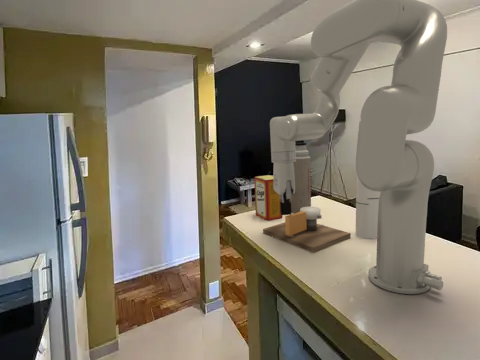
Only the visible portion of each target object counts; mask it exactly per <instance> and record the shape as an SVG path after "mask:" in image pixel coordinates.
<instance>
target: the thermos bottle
mask: <svg viewBox="0 0 480 360" xmlns="http://www.w3.org/2000/svg"><path fill="white" fill-rule="evenodd" d="M295 148H296V150H295V151H296V161H295V162H293V165H294V175H295V193H294V194H292V193H291V214H294V213H297V212H300V209H301V208H302V207H312V179H311V177H312V173H311V172H312V170H311V169H312V167H311V166H312V163H311V161H312V160H311V156H310V152H309V150H308V148H307V142H295Z"/></svg>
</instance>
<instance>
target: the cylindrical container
mask: <svg viewBox="0 0 480 360" xmlns="http://www.w3.org/2000/svg"><path fill="white" fill-rule="evenodd" d="M355 183H356V187H355V188H356V191H355V193H356V195H355V196H356V197H355V236H356V237H358V238H361V239H367V240H375V239H376V240H377V227H378V203H379V197H380V193H381V192H377V191H372V190H369V189H367V188H366V187H365V186H364V185H363V184H362V183H361V182H360V180H359V178H358V176H357V175H356V182H355Z"/></svg>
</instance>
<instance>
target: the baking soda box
mask: <svg viewBox="0 0 480 360" xmlns="http://www.w3.org/2000/svg"><path fill="white" fill-rule="evenodd" d="M253 180H254V199H255V200H254V201H255V216H257V217H259V218H261V219H263V221H264V220H265V221H266V222H269V221H274V220H275V221H277V220H281V219H283V215H282V214H281V213H280V195H279V194H278V193H277V192H276V191H275V190H274V188H273V175H270V174H267V175H258V176H254V178H253Z"/></svg>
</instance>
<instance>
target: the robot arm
mask: <svg viewBox="0 0 480 360" xmlns="http://www.w3.org/2000/svg"><path fill="white" fill-rule="evenodd" d="M447 39H448V24H447V20H446V18H445V17H444V15H443V13H442V12H441V11H440V10H439V9H438V8H436V7H435V6H433V5H432V4H429V3H425V2H423V1H420V0H352V1H350V2H347V3H346V4H344V5H342V6H340V7H339V8H338V9H336V10H333V11H332V12H331V13H329V14H327V15H325V17H323V18H322V19H321V20H320V21H319V22H318V24H317V25H316V26H315V28H314V29H313V31H312V34H311V39H310V46H311V51H312V52H313V54H314V55H316V56H317V57H320V58H319V60H318V62H317V63H316V66H315V67H314V69H313V71H312V73H311V75H310V79H309V80H310V84H311V86H313V87H314V90H315V89H316V90H317V91H318V92H319V93H321V97H320V100H319V102H318V105H317V106H316V108H315V109H314V111H313V113H295V114H287V115H285V116H284V115H283V116H275V117H274V116H273V117H272V118H271V119H270V120H269V129H270V130H269V133H270V153H271V154H270V156H271V163H273V175H272V176H273V188H274V190H275V191H276V192H277V193H278V194H279V195H280V213H281V214H282V216H288V215H291V214H292V212H291V193H292V194H294V193H295V175H294V165H293V162H295V161H296V151H295V150H296V148H295V143H296V142H299V141H300V142H301V141H307V140H308V141H309V140H316V139H320V138H322V137H323V136H324V135H325V134H326V133H328V132H327V131H329V129H330V128H331V126H332V125H333V123H334V122H335V120H336V118H337V117H338V114H339V110H340V104H341V96H340V93H341V90H342V89H343V88H344V86H345V84H346V83H347V81H349V78H350V76H352V74H353V71H354V70H355V68H356V67H357V66H358V64H359V63H360V61H361V59H362V57H363V56H364V54H365V53H366V51H367V50H368V48H369V45H370V43H371V41H373V42H378V43H379V42H380V43H386V44H387V43H388V44H394V45H399V46H400V47H401V48H400V50H399V51H398V53H397V55H396V58H395V60H394V63H393V68H392V77H391V85H386V86H382V87H379V88H376V90H374V91H372V92H371V93H370V94H369V96H367V98H366V100H365V101H364V103H363V105H362V108H361V110H360V115H359V123H358V131H357V132H358V134H357V140H356V141H357V144H356V154H355V172H356V177H357V176H358V178H359V180H360V182H361V183H362V184H363V185H364V186H365V187H366V188H367V189H369V190H372V191H377V192H381V193H380V197H379V203H378V227H377V238H376V260H375V261H376V262H375V263H376V264H375V265H374V266H372V267H370V268H369V270H368V278H369V280H370V282H372V283H373V284H374V285H376V286H377V287H379V288H381V289H384V290H386V291H389V292H393V293H397V294H406V295H417V294H422V293H425V292H428V290H430V288H432V289H435V290H437V291H442V289H443V288H444V281H443V280H442V279H443V277H442V276H440V275H438V274H433V273H431V271H429V267H430V265H429V264H426V263H425V247H426V234H427V233H426V232H427V231H426V230H427V217H428V202H429V197H430V196H429V195H430V189H431V185H432V181H433V176H434V172H435V171H434V170H435V160H434V156H433V153H432V152H431V150H430V149H429V148H428V147H427V146H426V145H425V144H424V143H422V142H420V141H416V140H412V139H411V140H410V139H409V140H408V139H407V135H413V134H418V133H421V132H423V131H425V130H427V129H428V128H429V127H430V126H431V125H432V123H433V122H434V120H435V117H436V116H435V115H436V110H437V103H438V98H439V97H438V96H439V90H440V83H441V76H442V69H443V60H444V56H445V51H446V45H447Z"/></svg>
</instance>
